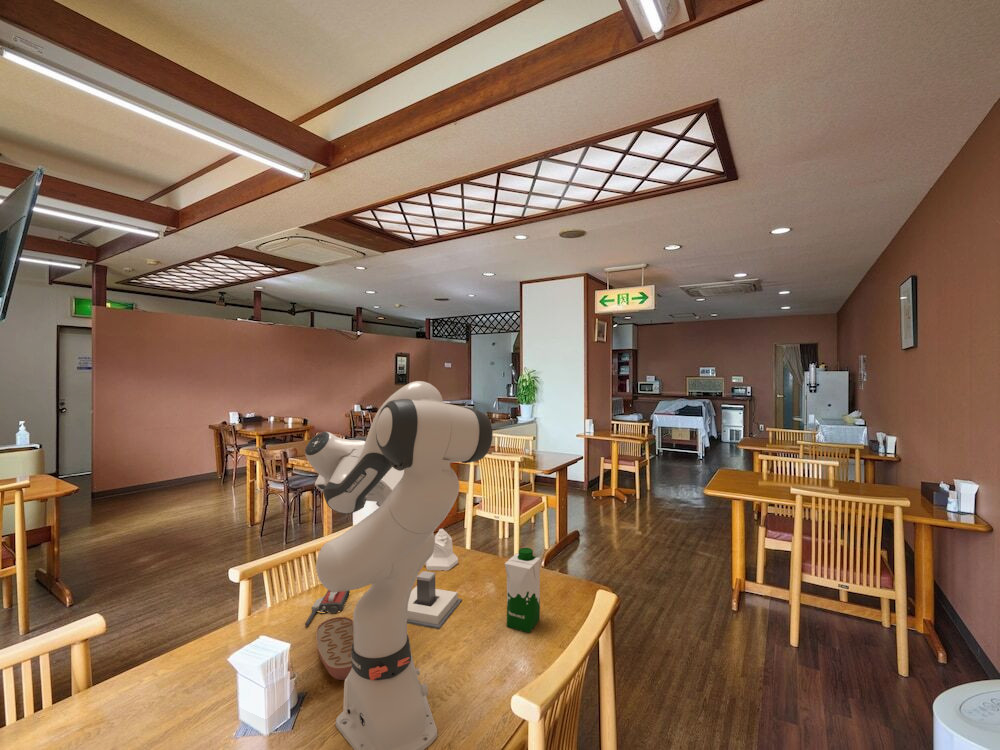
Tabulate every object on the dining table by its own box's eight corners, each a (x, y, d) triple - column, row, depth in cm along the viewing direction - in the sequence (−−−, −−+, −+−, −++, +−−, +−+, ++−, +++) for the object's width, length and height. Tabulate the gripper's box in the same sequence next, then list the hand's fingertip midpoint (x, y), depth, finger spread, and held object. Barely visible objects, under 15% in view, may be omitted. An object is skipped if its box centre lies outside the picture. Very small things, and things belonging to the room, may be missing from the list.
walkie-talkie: (323, 594, 148) (302, 629, 128) (323, 580, 148) (302, 614, 128) (351, 592, 149) (334, 628, 129) (351, 579, 149) (334, 612, 129)
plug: (435, 605, 138) (435, 572, 138) (429, 612, 135) (429, 578, 134) (423, 603, 140) (423, 570, 139) (417, 610, 136) (416, 576, 136)
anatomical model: (370, 680, 107) (370, 659, 107) (325, 696, 102) (325, 673, 102) (350, 631, 127) (349, 613, 127) (311, 642, 122) (311, 623, 122)
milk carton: (543, 619, 132) (543, 550, 131) (530, 636, 124) (530, 562, 123) (516, 612, 136) (515, 544, 135) (501, 627, 128) (501, 556, 127)
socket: (461, 600, 142) (461, 591, 142) (439, 629, 127) (439, 618, 127) (415, 593, 147) (415, 583, 147) (388, 619, 132) (388, 609, 132)
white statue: (466, 562, 174) (471, 529, 170) (440, 581, 161) (446, 546, 158) (440, 547, 180) (445, 515, 176) (414, 565, 167) (419, 530, 164)
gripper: (384, 469, 122) (403, 496, 131) (320, 464, 128) (342, 490, 138) (374, 490, 118) (395, 516, 127) (309, 484, 124) (333, 509, 134)
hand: (367, 503), depth 133 cm, fingers open, 8 cm apart
